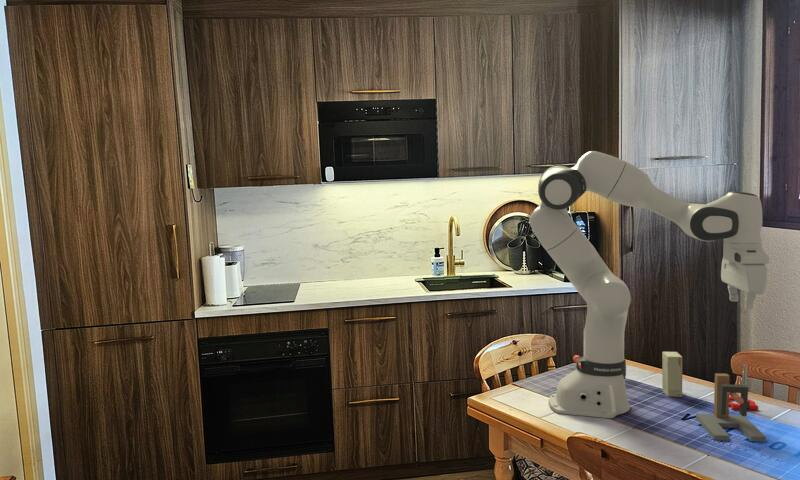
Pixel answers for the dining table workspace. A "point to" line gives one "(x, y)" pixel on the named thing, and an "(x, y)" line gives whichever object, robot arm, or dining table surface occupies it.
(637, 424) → the dining table surface
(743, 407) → the bight
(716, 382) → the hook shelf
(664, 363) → the skincare box
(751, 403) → the tow hook
